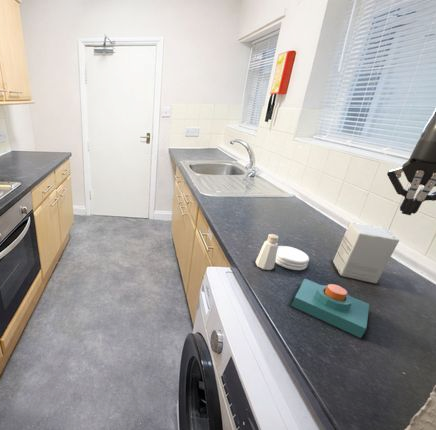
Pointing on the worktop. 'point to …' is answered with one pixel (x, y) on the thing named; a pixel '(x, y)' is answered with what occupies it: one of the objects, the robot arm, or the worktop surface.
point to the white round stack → (291, 258)
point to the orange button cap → (335, 292)
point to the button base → (332, 308)
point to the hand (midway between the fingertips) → (405, 213)
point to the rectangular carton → (364, 252)
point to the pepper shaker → (268, 253)
